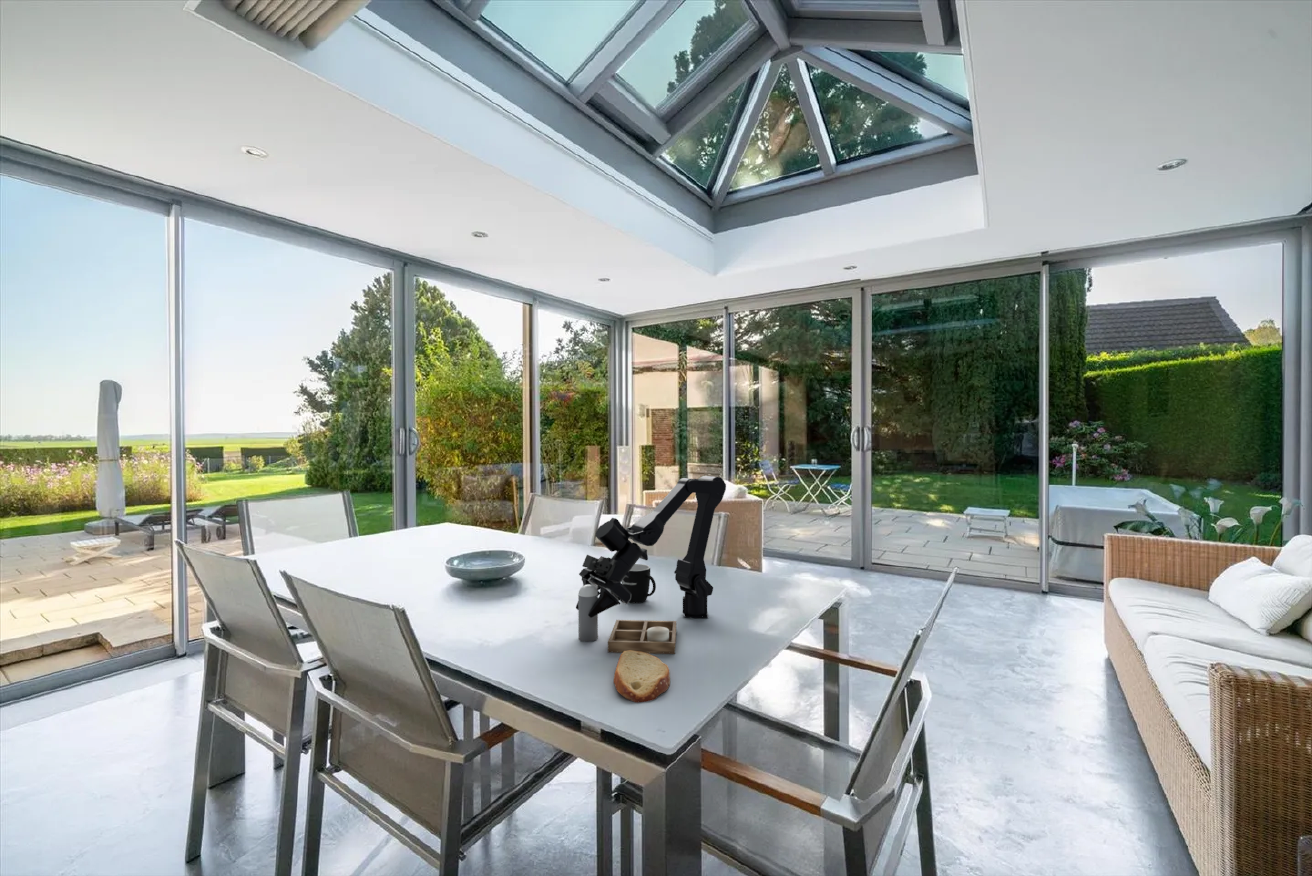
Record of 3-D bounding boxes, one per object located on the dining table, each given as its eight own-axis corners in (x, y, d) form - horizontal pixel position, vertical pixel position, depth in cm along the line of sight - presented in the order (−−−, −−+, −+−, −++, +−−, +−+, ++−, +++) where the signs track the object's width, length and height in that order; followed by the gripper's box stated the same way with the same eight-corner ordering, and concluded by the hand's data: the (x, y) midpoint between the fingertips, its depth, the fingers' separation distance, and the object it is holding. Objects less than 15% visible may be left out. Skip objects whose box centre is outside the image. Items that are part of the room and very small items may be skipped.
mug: (614, 601, 173) (614, 567, 173) (633, 594, 180) (633, 562, 180) (645, 608, 165) (645, 573, 165) (664, 601, 173) (664, 568, 172)
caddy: (676, 630, 147) (676, 615, 147) (674, 654, 131) (674, 636, 131) (616, 629, 148) (616, 614, 148) (607, 652, 132) (607, 635, 132)
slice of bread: (632, 655, 131) (632, 639, 131) (697, 676, 120) (697, 659, 120) (575, 682, 117) (575, 664, 117) (642, 708, 106) (642, 688, 106)
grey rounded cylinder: (599, 635, 143) (599, 582, 143) (596, 642, 139) (596, 587, 139) (580, 634, 144) (580, 582, 144) (576, 641, 139) (576, 587, 139)
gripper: (585, 537, 151) (546, 584, 145) (620, 549, 135) (578, 603, 129) (611, 563, 155) (575, 610, 149) (648, 577, 140) (608, 630, 134)
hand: (583, 612), depth 140 cm, fingers open, 7 cm apart
